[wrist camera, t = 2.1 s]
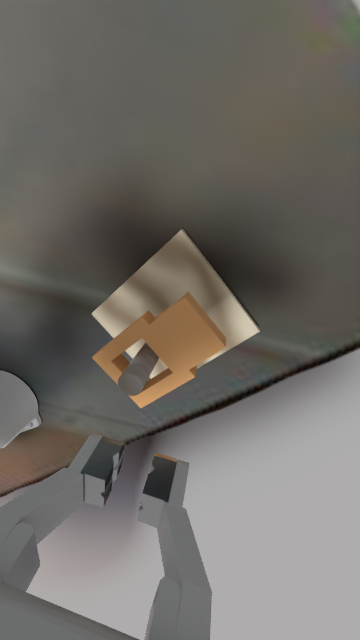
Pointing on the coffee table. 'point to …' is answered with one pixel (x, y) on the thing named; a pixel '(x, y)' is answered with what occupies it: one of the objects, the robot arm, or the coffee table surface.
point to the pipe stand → (161, 292)
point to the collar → (166, 346)
